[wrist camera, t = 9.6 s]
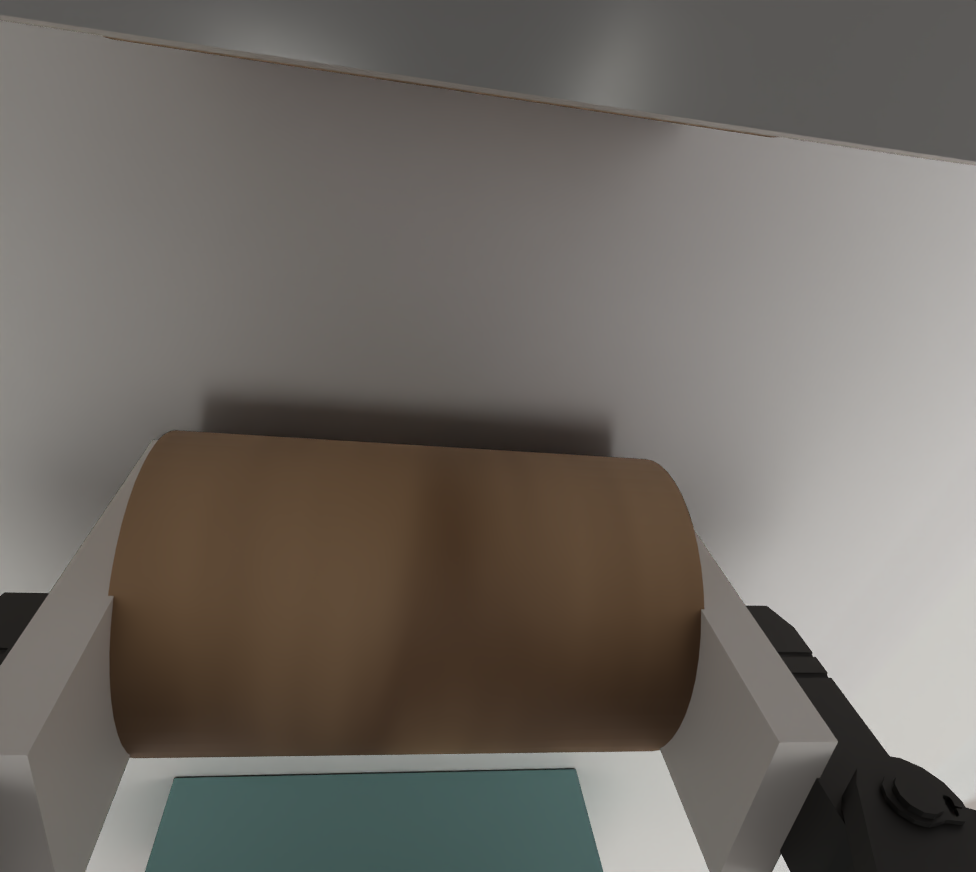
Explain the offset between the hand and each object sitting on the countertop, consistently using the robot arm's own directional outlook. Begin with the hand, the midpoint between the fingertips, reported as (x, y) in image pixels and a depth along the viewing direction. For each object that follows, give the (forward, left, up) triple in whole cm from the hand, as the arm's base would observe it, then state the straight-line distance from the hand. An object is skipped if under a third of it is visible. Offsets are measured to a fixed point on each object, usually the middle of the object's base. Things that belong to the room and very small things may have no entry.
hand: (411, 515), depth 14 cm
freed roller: (0, 0, +2) cm, 2 cm away
